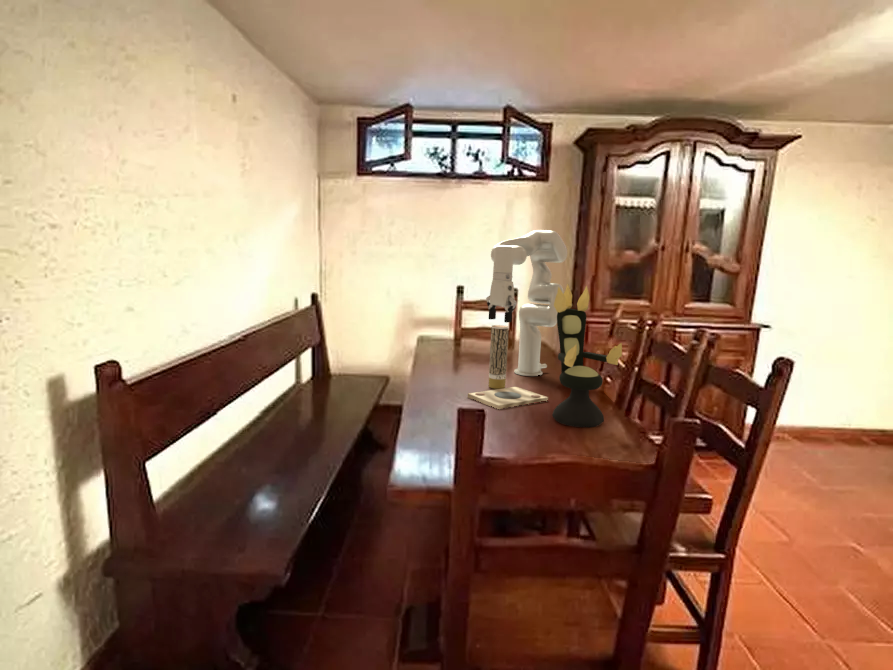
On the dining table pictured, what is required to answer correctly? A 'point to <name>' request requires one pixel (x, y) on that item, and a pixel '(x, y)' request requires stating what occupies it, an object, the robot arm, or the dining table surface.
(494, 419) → the dining table surface
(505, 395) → the board
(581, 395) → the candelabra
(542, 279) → the robot arm
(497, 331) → the paper tube
